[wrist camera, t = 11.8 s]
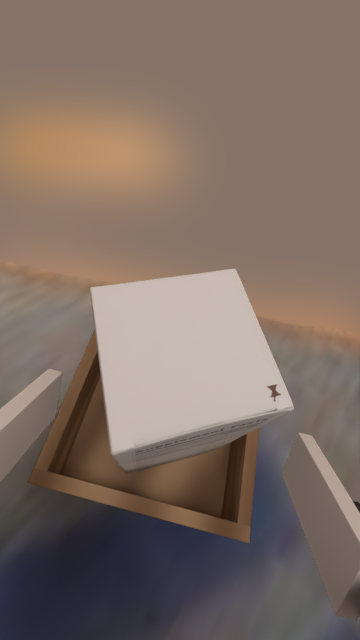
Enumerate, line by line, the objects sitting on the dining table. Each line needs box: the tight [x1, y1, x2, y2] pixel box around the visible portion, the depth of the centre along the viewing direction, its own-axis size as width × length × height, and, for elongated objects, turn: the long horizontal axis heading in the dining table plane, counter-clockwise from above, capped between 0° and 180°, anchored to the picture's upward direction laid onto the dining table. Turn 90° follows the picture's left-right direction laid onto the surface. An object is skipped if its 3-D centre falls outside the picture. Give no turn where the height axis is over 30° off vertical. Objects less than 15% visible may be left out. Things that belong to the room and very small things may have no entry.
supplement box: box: [90, 269, 294, 473], centre depth 23 cm, size 10×9×17 cm
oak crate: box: [28, 330, 259, 543], centre depth 28 cm, size 17×17×6 cm
